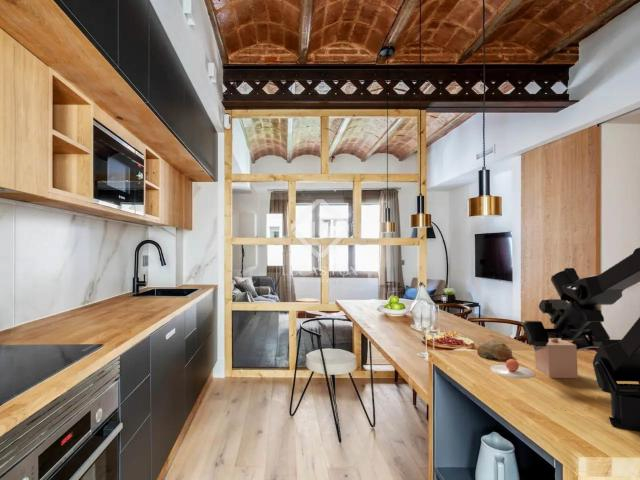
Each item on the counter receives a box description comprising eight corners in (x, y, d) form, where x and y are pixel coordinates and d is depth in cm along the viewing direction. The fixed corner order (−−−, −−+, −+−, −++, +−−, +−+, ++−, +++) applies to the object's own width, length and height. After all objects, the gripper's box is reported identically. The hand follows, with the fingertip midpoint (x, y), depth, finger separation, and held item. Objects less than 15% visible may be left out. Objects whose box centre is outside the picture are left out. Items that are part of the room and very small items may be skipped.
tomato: (518, 373, 95) (518, 361, 95) (505, 371, 97) (504, 359, 97) (519, 370, 98) (519, 358, 98) (506, 368, 100) (506, 356, 100)
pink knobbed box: (577, 380, 91) (576, 342, 92) (549, 379, 92) (548, 341, 92) (561, 370, 98) (560, 335, 99) (535, 370, 99) (534, 335, 99)
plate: (535, 384, 90) (534, 381, 90) (487, 377, 96) (487, 373, 96) (536, 372, 99) (536, 368, 99) (493, 365, 105) (493, 362, 105)
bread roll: (477, 371, 111) (475, 351, 108) (478, 349, 119) (477, 330, 116) (513, 376, 106) (512, 355, 103) (512, 353, 115) (511, 333, 112)
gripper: (600, 290, 91) (574, 323, 101) (524, 290, 92) (507, 323, 103) (625, 327, 83) (594, 360, 93) (541, 327, 84) (521, 359, 95)
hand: (552, 349), depth 96 cm, fingers open, 9 cm apart
